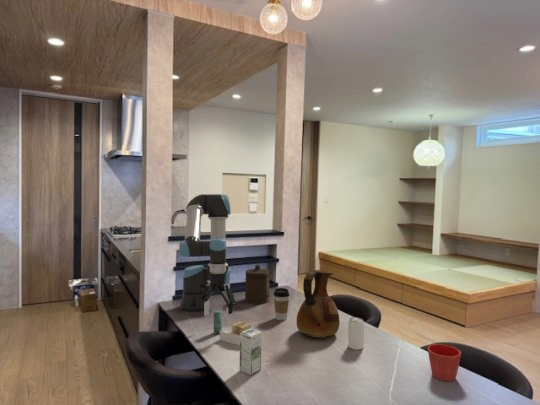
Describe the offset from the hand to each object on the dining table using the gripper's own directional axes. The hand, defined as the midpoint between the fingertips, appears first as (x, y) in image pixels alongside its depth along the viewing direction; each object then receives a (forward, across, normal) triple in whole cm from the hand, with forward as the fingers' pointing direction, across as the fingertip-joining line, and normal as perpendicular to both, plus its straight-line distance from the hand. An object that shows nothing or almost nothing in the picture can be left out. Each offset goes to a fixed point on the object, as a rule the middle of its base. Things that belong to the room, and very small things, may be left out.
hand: (217, 317), depth 169 cm
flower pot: (+8, +94, +16) cm, 95 cm away
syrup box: (+8, +34, -20) cm, 40 cm away
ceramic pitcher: (+8, +39, +26) cm, 47 cm away
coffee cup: (+7, +14, +34) cm, 38 cm away
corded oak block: (+7, +7, 0) cm, 10 cm away
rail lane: (+8, +13, 0) cm, 15 cm away
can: (+8, +59, +22) cm, 63 cm away
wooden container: (+7, -15, +53) cm, 56 cm away
